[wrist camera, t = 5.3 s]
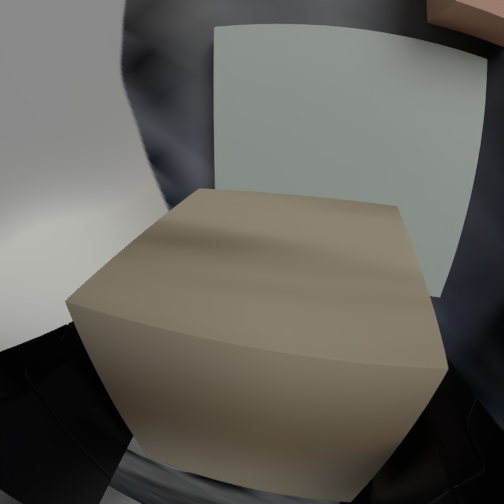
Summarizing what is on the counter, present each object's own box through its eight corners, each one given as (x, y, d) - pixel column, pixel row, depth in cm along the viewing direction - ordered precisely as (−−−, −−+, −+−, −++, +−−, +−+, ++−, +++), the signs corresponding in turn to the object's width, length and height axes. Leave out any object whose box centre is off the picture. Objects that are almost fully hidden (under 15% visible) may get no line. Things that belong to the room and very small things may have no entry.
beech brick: (362, 354, 9) (350, 502, 5) (213, 332, 11) (146, 456, 6) (396, 206, 7) (449, 368, 3) (199, 188, 8) (64, 300, 4)
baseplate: (435, 283, 18) (439, 297, 17) (225, 253, 21) (217, 264, 20) (476, 61, 11) (487, 59, 10) (224, 31, 14) (214, 27, 13)
